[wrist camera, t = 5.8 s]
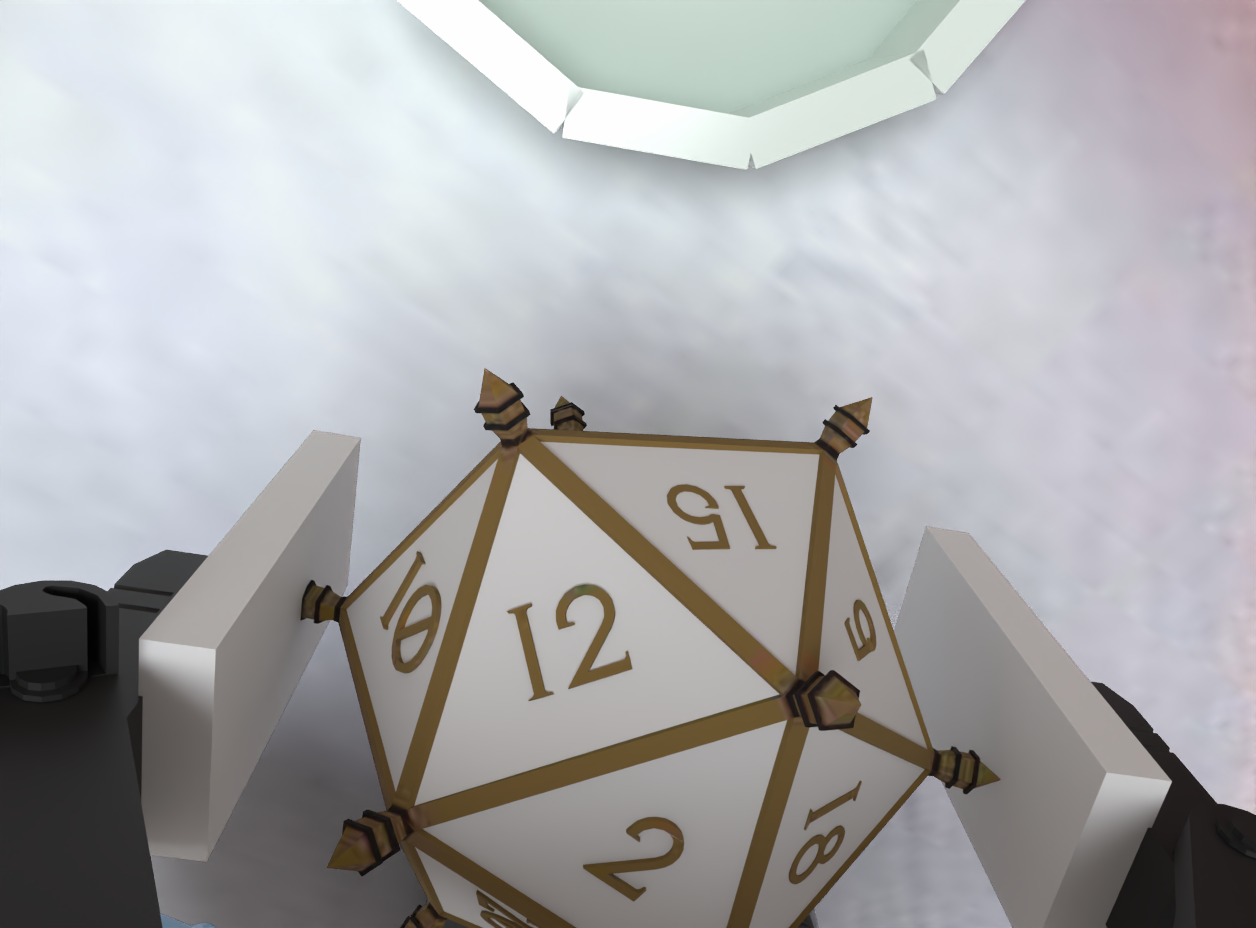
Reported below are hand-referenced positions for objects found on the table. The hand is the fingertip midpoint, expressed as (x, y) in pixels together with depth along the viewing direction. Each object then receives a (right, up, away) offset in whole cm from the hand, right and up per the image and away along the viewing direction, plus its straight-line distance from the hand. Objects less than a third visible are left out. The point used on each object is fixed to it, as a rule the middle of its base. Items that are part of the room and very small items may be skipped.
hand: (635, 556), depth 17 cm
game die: (0, 0, 0) cm, 1 cm away
